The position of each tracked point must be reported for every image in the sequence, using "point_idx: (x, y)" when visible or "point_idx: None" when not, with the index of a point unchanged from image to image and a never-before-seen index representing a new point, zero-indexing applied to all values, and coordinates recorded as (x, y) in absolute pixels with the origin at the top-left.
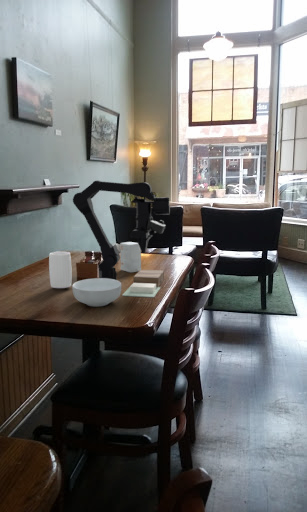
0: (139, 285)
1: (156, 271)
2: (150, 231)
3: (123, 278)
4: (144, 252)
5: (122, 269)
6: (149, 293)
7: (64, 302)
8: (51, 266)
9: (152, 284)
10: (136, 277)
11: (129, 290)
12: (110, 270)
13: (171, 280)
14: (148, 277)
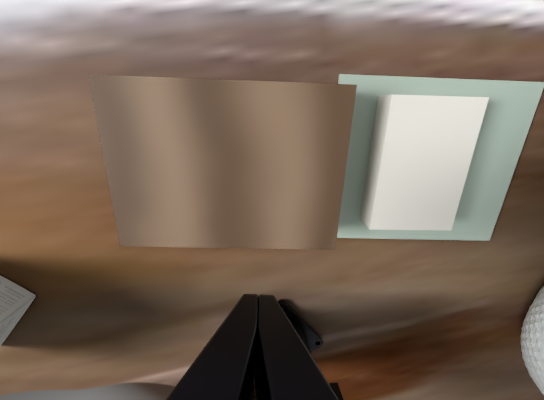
0: (431, 187)
1: (147, 131)
2: None
3: (169, 298)
4: (277, 305)
5: (2, 341)
6: None
7: None
8: None
9: (412, 115)
10: (336, 231)
11: None
12: (337, 384)
13: (135, 24)
14: (346, 157)
